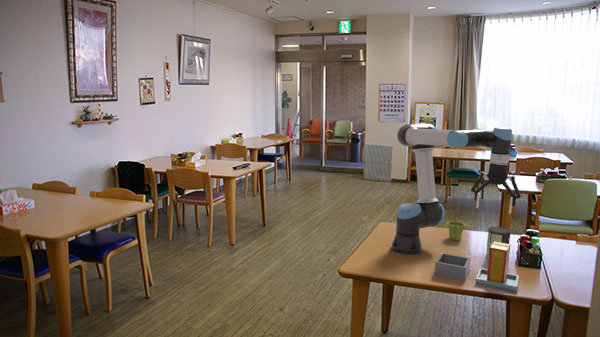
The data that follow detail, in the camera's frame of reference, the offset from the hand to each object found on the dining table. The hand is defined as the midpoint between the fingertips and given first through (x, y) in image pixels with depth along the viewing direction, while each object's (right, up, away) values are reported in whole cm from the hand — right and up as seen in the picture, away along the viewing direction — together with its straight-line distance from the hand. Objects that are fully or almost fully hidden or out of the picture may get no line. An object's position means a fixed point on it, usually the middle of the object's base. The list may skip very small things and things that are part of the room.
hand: (493, 210), depth 203 cm
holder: (-17, -29, +5) cm, 34 cm away
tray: (0, -31, -5) cm, 31 cm away
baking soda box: (-1, -30, -5) cm, 30 cm away
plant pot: (+1, -21, +52) cm, 56 cm away
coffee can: (+12, -26, +25) cm, 38 cm away
